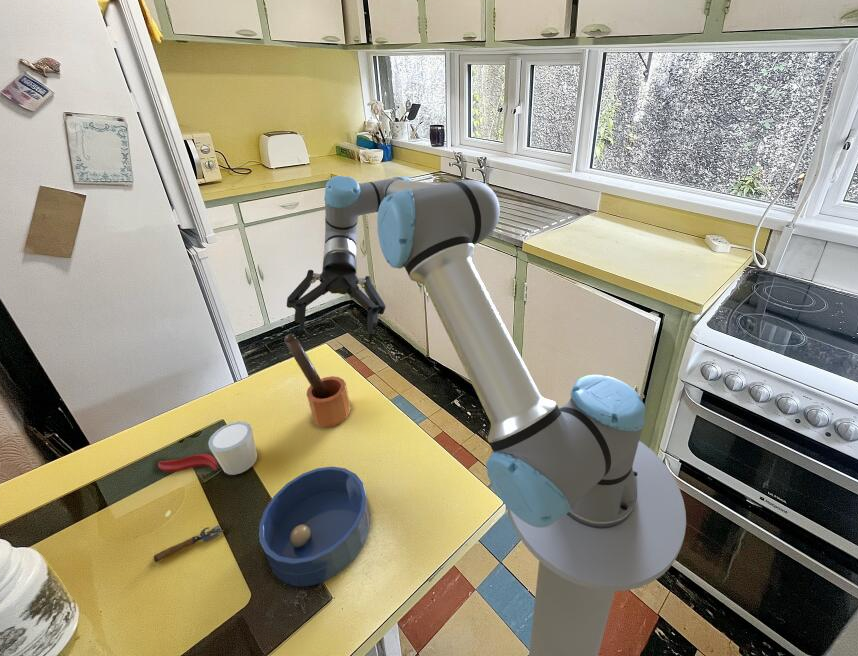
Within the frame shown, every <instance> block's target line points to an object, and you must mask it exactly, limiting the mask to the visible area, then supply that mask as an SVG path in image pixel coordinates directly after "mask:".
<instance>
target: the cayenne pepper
mask: <svg viewBox="0 0 858 656" xmlns="http://www.w3.org/2000/svg"><path fill="white" fill-rule="evenodd" d="M157 466H158V468H159V470H160V471H162V472H165V473H174V472H175V473H176V472H181V471H185V470H188V469H193V468H198V467H209V468H211V469H213V470H214V471H216V472H217V471H218V468H219V466H218V461H217V459H216V458H215V456H212V455H211V454H209V453H198V454H194V455H190V456H186V457H183V458H179V459H171V460H170V459H169V460H159V461H158V463H157Z"/></svg>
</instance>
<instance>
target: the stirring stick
mask: <svg viewBox="0 0 858 656" xmlns="http://www.w3.org/2000/svg"><path fill="white" fill-rule="evenodd" d="M283 341H284V343H285V345H286V346H287V349H288V350H289V352H290V353H291V355H292V356H293V358H294V360H295V362H296V364H297V365H298V367H299V369H300V370H301V372H302V373H303V375H304V377H305V378H306V380H307V382H308V383H309V386H311V387H312V388H313V390H314V392H315V393H316V395H317V397H318V398H319V399H324V398H329V397H331V396H330V394H329V392H328V391H327V389H326V387H325V385H324V384H323V382H322V380H321V379H322V378H321V377H320V375H319V373H318V372H317V370H316V368H315V367H314V364H313V363H312V361H311V360H310V358H309V356H308V355H307V353H306V351H305V349H304V347H303V346H302V344H301V342H300V341H299V338H298V337H297V335H295V333H289V334H287V335H286V336H285V337H284V340H283Z"/></svg>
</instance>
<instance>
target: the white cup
mask: <svg viewBox="0 0 858 656" xmlns="http://www.w3.org/2000/svg"><path fill="white" fill-rule="evenodd" d="M207 444H208V447H209V451H210V452H211V453H212V455H213V457H214V458H215V460H216V462H217V464H219V466H220V468H221V469H222V471H223V473H225V474H227V475H230V476H235V475H239V474H242V473H244V472H246V471H248V470H249V469H250V468H252V467H253V466H254V465H255V463H256V461H257V459H258V453H257V448H256V443H255V438H254V433H253V428H252V426H251V424H250V423H249V422H246V421H233V422H230V423H228V424H225V425H223V426H221V427H219V429H217V430H215V432H213V434H212V435H211V436H210V437H209V439H208V443H207Z"/></svg>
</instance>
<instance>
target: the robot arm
mask: <svg viewBox="0 0 858 656" xmlns="http://www.w3.org/2000/svg"><path fill="white" fill-rule="evenodd" d="M324 210H325V211H324V212H325V215H324V216H325V218H324V221H325V222H324V227H325V228H324V246H323V255H322V256H323V258H322V259H323V260H322V269H321V273H315V271H314V270H313V269H308V270H307V273H306V276H305V278H303V279H302V281H301V282H300V283H299V284H298V285H297V287H296V288H295V289H294V290H293V291H292V292H291V293H290V294H289V295H288V296H287V298H286V308H288V309H294V318H293V321H294V323H299V328H298V337H297V339H303V338H304V337H303V336H304V332H305V322H306V321H305V320H306V312H307V307H308V306H309V305H310V304H312V303H313V302H314V301H316V300H318V299H319V298H320V297H321V296H325V295H326V294H327V293H330V294H340V295H344V296H345V295H346V294H348V296H349V297H350V298H353V299H354V300H355V301H356V302H357V303H358V304H359V305H360V306H361V307H362V308H363V309H364V310H365V311H366V312H367V315H366V327H367V328H366V331H367V335H366V336H367V339H366V340H367V342H371V341H372V339H373V337H374V335H375V334H374V327H375V328H376V327H377V325H378V322H379V315H383V314H384V313H385V310H386V307H387V305H386V304H385V302H384V301H383V299H382V298H381V296H380V294H379V293H378V290H377V289H376V288H375V287H374V285H373V284H372V278H371V276H369V275H366V276H365V277H364V278H363V277H360V278H359V277H358V275H357V274H358V273H357V270H358V269H357V268H358V267H357V255H358V254H357V251H358V249H357V247H358V246H357V240H358V239H357V238H358V224H359V223H358V222H359V216H364V215H369V214H374V213H377V217H376V225H377V227H376V229H377V237H378V242H379V246H380V250H381V253H382V255H383V257H384V259H385V261H386V262H387V264H389V266H390V267H391V268H394V269H398V270H399V269H403V268H404V269H405V271H406V273H407V275H408V277H409V279H410V281H413V282H416V283H419V284H422V285H423V286H424V289H425V290H426V292H427V294H428V297H429V299H430V301H431V303H432V305H433V307H434V309H435V311H436V314H437V315H438V317H439V319H440V321H441V324H442V326H443V327H444V330H445V331H446V333H447V336H448V338H449V340H450V342H451V344H452V347H453V348H454V351H455V352H456V355H457V356H458V358H459V360H460V362H461V365H462V366H463V369H464V371H465V373H466V375H467V377H468V379H469V381H470V383H471V385H472V387H473V389H474V392H475V393H476V396H477V397H478V400H479V403H481V407H482V408H483V410H484V412H485V414H486V416H487V418H488V420H489V422H490V429H489V431H488V435H487V438H486V439H487V442H488V444H489V446H490V449H491V451H492V453H491V454H490V455H489V456H488V459H487V460H486V462H485V469H486V471H487V472H486V475H487V477H488V480H489V483H490V484H491V487H492V488H493V490H494V492H495V493H496V495H497V496H498V498H499V499H500V500H501V502H502V503H503V504H504V505H505V506H506V508H507V507H508V508H509V509H510V510H511V511H512V512H513V513H514V514H515V515H516V516H517V517H518V518H520V519H521V520H522V521H524V522H525V523H527V524H529V525H531V526H534V527H539V528H543V527H547V526H549V525H551V524H552V523H553V522H555V521H556V520H557V519H558V518H560V517H561V516H562V515H565V514H567V515H568V516H569V517H570V518H572V519H573V520H575V521H577V522H578V523H580V524H583V525H585V526H588V527H592V528H600V529H604V528H611V527H615V526H618V525H620V524H621V523H623V522H624V521H626V520H627V519H628V518H629V516H630V515H631V513H632V512H633V509H634V506H635V502H636V498H637V487H636V482H635V477H634V476H637V475H638V474H637V472H635V471H633V468H632V466H633V462H634V459H635V455H636V451H637V447H638V443H639V441H640V439H641V435H642V430H643V428H644V426H645V414H646V407H645V404H644V402H643V399H642V397H641V396H640V394H639V393H638V392H637V391H636V390H635V389H634V388H633V387H632V386H630V385H629V384H628V383H626V382H624V381H622V380H620V379H618V378H615V377H613V376H608V375H607V376H606V375H602V374H589V375H584V376H582V377H580V378H577V380H576V381H574V383H573V384H572V389H570V395H569V396H570V399H569V401H568V402H567V403H565V404H563V405H562V406H561V407H559V406H558V403H557V402H556V401H554V400H552V399H548V398H545V397H544V396H542V395H541V392H540V391H539V388H538V387H537V385H536V383H535V381H534V380H533V377H532V375H531V373H530V372H529V370H528V367H527V366H526V364H525V362H524V359H523V358H522V356H521V354H520V352H519V351H518V349H517V346H516V344H515V343H514V341H513V338H512V337H511V335H510V333H509V331H508V329H507V327H506V325H505V323H504V321H503V319H502V317H501V315H500V313H499V311H498V309H497V308H496V305H495V304H494V302H493V300H492V298H491V296H490V294H489V292H488V290H487V288H486V287H485V284H484V282H483V281H482V278H481V277H480V275H479V273H478V271H477V269H476V267H475V265H474V264H473V261H472V260H473V256H474V254H475V251H476V248H475V246H474V245H477V244H479V243H481V242H483V241H485V240H486V239H487V238H489V237H490V235H492V233H493V232H494V231H495V229H496V228H497V225H498V223H499V221H500V216H501V215H500V214H501V206H500V202H499V199H498V197H497V195H496V193H495V192H494V190H493V189H492V188H491V187H490V186H489V185H487V184H486V183H484V182H482V181H479V180H475V179H460V180H459V179H458V180H454V181H451V182H444V183H439V182H427V181H418V180H411V178H410V177H408V176H395V177H392V178H386V179H380V180H374V181H366V182H361V183H359V182H358V181H357V180H356V179H355V178H353V177H351V176H343V175H336V176H332V177H330V178H329V179H328V180H327V182H326V185H325V190H324ZM317 281H319V284H318V285H317V286H316V287H314V288H313V289H311V290H310V291H308V289H309V288H310V287H311V285H312V284H314V283H316V282H317ZM359 285H360V286H361V289H363V290H364V292H365V293H364V292H363V291H362V290H361V289H360V287H359ZM307 291H308V292H307ZM306 292H307V293H306ZM305 293H306V294H305Z"/></svg>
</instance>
